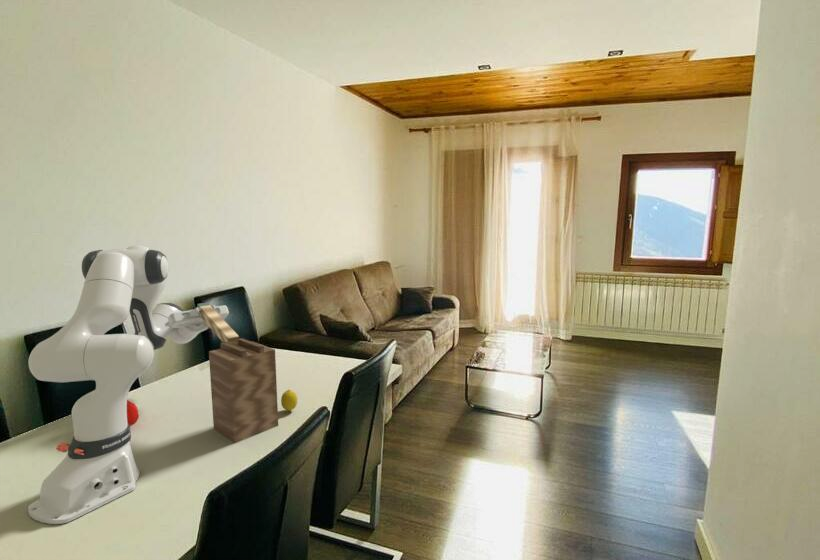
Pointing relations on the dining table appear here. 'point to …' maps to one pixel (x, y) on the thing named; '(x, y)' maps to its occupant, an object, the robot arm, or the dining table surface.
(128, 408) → the tomato
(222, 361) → the walnut mount
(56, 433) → the dining table surface
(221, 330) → the oak bar
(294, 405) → the lemon
